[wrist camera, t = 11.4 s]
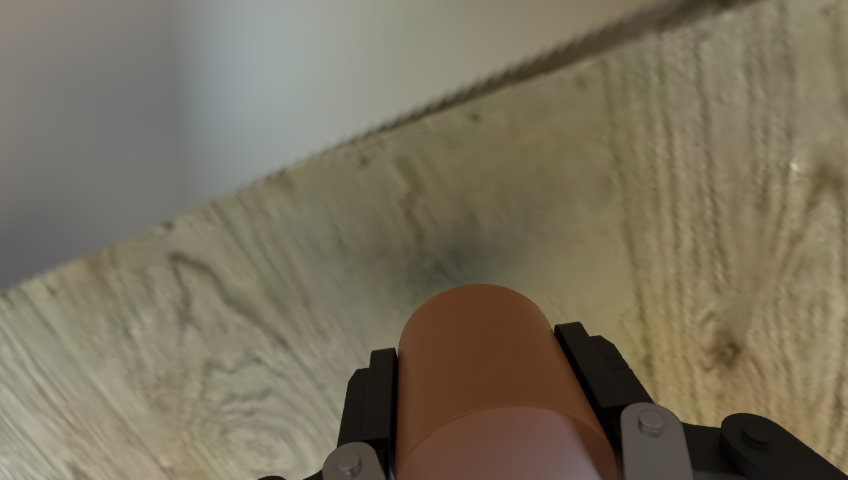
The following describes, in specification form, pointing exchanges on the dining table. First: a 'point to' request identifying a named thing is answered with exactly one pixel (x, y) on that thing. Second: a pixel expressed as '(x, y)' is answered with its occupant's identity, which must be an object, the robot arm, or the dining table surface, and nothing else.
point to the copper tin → (491, 395)
